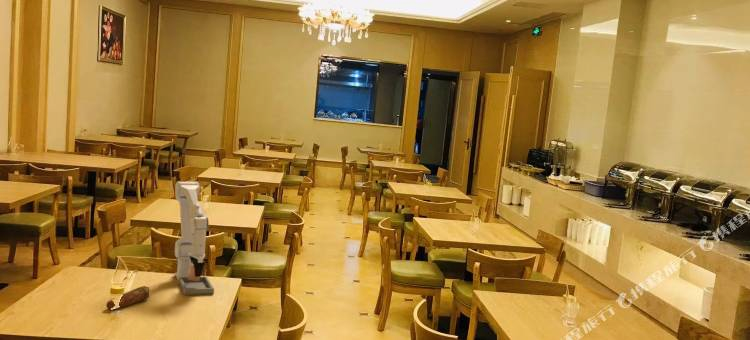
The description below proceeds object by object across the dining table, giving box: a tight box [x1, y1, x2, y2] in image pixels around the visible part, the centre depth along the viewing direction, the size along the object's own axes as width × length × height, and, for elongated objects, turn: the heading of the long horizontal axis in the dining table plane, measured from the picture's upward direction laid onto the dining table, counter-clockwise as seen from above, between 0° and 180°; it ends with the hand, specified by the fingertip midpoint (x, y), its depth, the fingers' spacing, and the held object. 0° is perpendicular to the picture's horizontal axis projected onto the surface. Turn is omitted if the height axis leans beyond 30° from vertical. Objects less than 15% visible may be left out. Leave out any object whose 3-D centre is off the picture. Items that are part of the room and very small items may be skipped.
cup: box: [188, 262, 202, 281], centre depth 276 cm, size 5×5×7 cm
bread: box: [106, 285, 150, 311], centre depth 250 cm, size 6×19×6 cm, turn 154°
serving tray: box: [178, 275, 215, 296], centre depth 277 cm, size 18×12×2 cm, turn 25°
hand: (196, 274), depth 276 cm, fingers closed on cup, 5 cm apart
